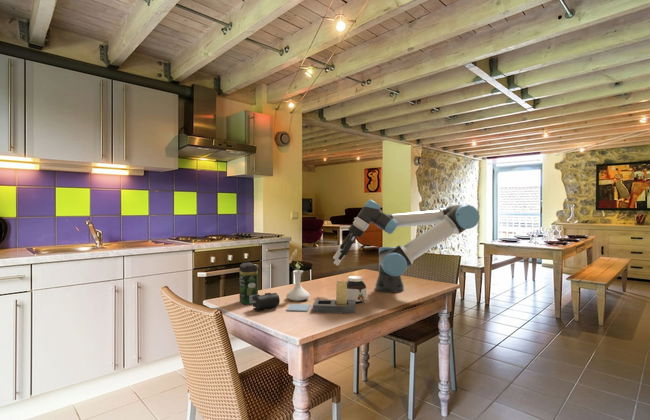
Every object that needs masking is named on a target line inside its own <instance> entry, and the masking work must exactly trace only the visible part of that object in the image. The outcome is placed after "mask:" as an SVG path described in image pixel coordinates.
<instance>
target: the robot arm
mask: <svg viewBox="0 0 650 420" xmlns="http://www.w3.org/2000/svg"><path fill="white" fill-rule="evenodd" d="M381 208H382V206H381V205H380V204H378V203H377V202H375V201H374V200H373V199H368V200H367V201H366V203H365V204H364V205H363V207H362V208H361V209H360V211H359V213H358V214H357V216H356V217H354V218H353V220H354V221H352V224H350V226H349V227H348V231H349V233H348V235H347V236H346V237H345V239H344V240H343V242H342V243H341V244H340V245H339V247H338V249H337V251H336V253H335V254H334V255H333V257H332V259H333V260H334V261H333V264H334V265H336V266H337V267H339V266H340V264H341V262H342V260H343V259H344V258H345V257H346V255H348V253H349V252H350V249H351V247H352V246H353V244H354V243H355V242H356V240H357V238H361V237H362V236H363V235H364V233H365V231H366V230H367V229H368V228H369V226H370V224H371V223H372V224H374V225H375V226H376V227H377V228H379V229H381V230H382V231H384V232H385V233H387V234H389V235H391V234H393V233H394V231H396V229H397V228H404V227H416V226H417V227H421V226H431V227H429V229H427V230H425V231H423V232H422V233H421V234H420V235H418V236H416V237H415V238H413V239H412V240H410V241H409V242H407V243H406V244H404V245H397V246H395V247H394V246H381V247H379V248H378V276H377V279H376V282H375V290H376V291H379V292H383V293H385V292H386V293H399V292H403V291H404V290H405V289H404V283H403V279H402V277H401V276H402V275H403V274H404V273H405V272H406V270H407V269H408V268H410V267H411V266H413V265H414V264H413V263H414V260H416V259H417V258H419V257H421V256H422V255H424V254H426V253H427V252H428V251H430V250H431V249H433V248H434V247H436V246H437V245H439V244H440V243H442V242H443V241H446V240H447V239H448V238H450V237H451V236H453V235H460V234H462V233H463V232H465V231H466V230H470V229H473V228H474V227H476V226H477V225H478V224H479V220H480V214H479V211H478V209H477V208H476V207H475V206H473V205H470V204H467V203H466V204H456V205H451V206H446V207H439V208H438V209H436V210H434V209H433V210H424V211H411V212H400V213H388V214H386V213H385V212H383V211H382V210H381ZM432 225H433V226H432Z"/></svg>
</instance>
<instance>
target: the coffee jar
mask: <svg viewBox="0 0 650 420" xmlns="http://www.w3.org/2000/svg"><path fill="white" fill-rule="evenodd" d="M258 275H259V266H258V265H257V264H254V263H253V262H249V261H248V262H241V264H240V265H239V302H240V303H241V304H243V305H251V306H252V305H253V303H255V304H256V301H254V300H253V296H254V295H259V284H258V278H259V277H258Z"/></svg>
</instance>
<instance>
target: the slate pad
mask: <svg viewBox="0 0 650 420" xmlns="http://www.w3.org/2000/svg"><path fill="white" fill-rule="evenodd" d="M310 307H311V304H307V303H305V304H302V303H301V304H300V303H299V304H298V303H290V304H289V306H287V308H286V312H303V313H304V312H307V313H308V312H309V309H310Z"/></svg>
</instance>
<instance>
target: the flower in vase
mask: <svg viewBox="0 0 650 420" xmlns="http://www.w3.org/2000/svg"><path fill="white" fill-rule="evenodd" d="M291 253H292V254H291V256H290V257H289V259H288V264H291V263H292V262H293V261H294V259H295V260H296V264H295V265H294V266H295V267H296V270H293V271H292V272H293V274H294V278H295V285H294V287H293V288H292V289H290V291H288V292H287V294H286V296H285V297H286V298H287V299H288V300H290V301H296V302H297V301H299V302H300V301H304V300H307V299H309V298H310V297H311V296H310V293H309V292H308V291H307V290H306V289H304V288H303V287H302V285H301V277H302V274H303V273H304V270H300V268H301V265H300V264H299V261H298V259H297V257H296V256H297V253H298V248H295V249H294V251H292V252H291Z"/></svg>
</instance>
